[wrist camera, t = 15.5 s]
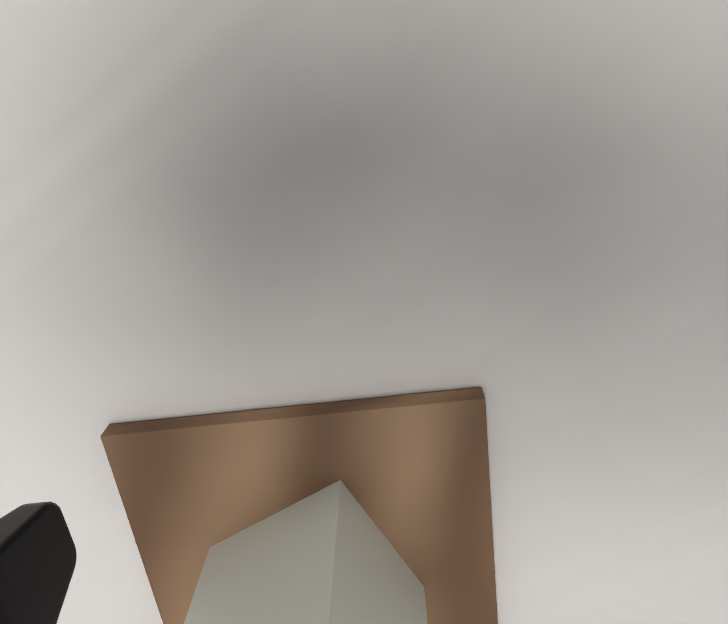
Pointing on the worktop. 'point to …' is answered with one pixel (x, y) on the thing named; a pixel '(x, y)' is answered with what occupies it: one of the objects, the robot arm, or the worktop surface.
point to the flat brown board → (317, 487)
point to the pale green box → (309, 570)
